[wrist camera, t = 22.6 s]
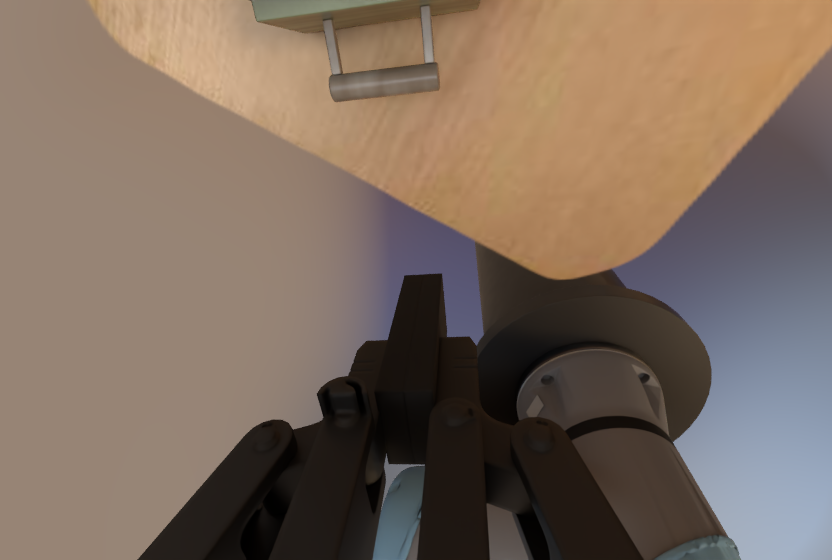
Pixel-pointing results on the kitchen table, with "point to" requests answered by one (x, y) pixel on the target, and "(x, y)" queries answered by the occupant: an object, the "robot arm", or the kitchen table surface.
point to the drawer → (354, 6)
